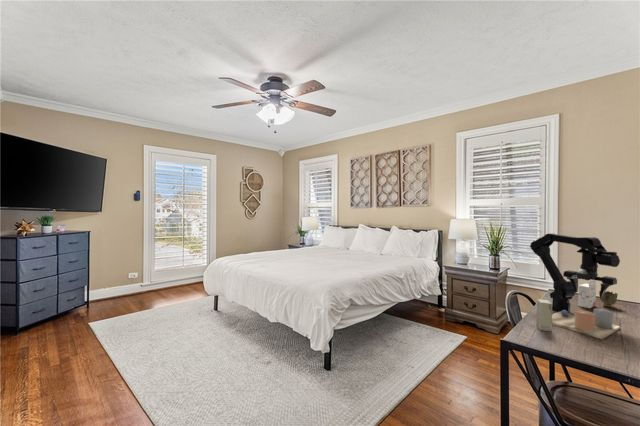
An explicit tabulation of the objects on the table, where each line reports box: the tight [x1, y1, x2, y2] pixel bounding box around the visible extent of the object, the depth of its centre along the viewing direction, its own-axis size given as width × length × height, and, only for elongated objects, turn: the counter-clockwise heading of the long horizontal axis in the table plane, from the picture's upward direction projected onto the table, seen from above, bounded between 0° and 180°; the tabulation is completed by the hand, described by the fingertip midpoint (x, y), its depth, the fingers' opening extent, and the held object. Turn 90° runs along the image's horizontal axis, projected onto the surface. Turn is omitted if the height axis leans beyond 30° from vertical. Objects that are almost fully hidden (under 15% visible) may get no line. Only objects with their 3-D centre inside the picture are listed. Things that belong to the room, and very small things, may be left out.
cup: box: [598, 290, 618, 308], centre depth 163 cm, size 8×7×8 cm
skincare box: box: [536, 298, 553, 332], centre depth 131 cm, size 6×4×12 cm
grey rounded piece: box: [592, 307, 614, 329], centre depth 132 cm, size 6×6×7 cm
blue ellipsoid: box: [561, 310, 570, 316], centre depth 144 cm, size 3×3×3 cm
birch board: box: [552, 311, 621, 340], centre depth 136 cm, size 22×22×1 cm
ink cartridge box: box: [577, 280, 597, 309], centre depth 163 cm, size 9×5×15 cm, turn 117°
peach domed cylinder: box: [574, 309, 595, 331], centre depth 129 cm, size 6×6×7 cm
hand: (588, 294), depth 144 cm, fingers open, 9 cm apart
